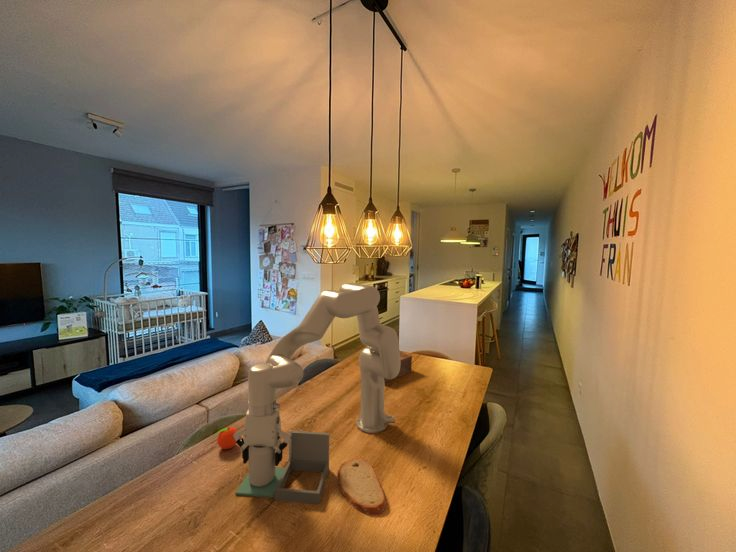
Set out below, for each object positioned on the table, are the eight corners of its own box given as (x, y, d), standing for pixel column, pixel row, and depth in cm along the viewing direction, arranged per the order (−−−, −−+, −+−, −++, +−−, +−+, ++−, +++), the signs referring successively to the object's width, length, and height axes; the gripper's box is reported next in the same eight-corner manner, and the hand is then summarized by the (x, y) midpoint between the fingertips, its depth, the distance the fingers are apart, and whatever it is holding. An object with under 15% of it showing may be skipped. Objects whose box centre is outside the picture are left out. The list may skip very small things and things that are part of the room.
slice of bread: (383, 520, 79) (383, 506, 79) (321, 500, 85) (321, 488, 85) (398, 473, 96) (398, 462, 96) (346, 460, 102) (346, 449, 102)
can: (280, 473, 94) (280, 436, 93) (264, 491, 87) (264, 452, 86) (259, 467, 96) (259, 431, 95) (243, 484, 89) (243, 446, 88)
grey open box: (328, 468, 97) (329, 430, 96) (319, 503, 84) (319, 459, 83) (290, 465, 98) (290, 427, 97) (274, 500, 84) (274, 455, 83)
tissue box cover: (393, 365, 188) (393, 349, 188) (411, 372, 178) (411, 356, 177) (362, 376, 171) (362, 358, 170) (380, 384, 160) (380, 366, 160)
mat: (286, 469, 96) (286, 468, 96) (273, 497, 85) (273, 495, 85) (253, 467, 97) (253, 465, 97) (235, 494, 86) (235, 492, 86)
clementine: (213, 456, 102) (212, 436, 101) (214, 444, 108) (214, 425, 107) (239, 450, 105) (238, 431, 104) (238, 439, 111) (238, 420, 111)
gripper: (294, 402, 92) (294, 455, 94) (240, 398, 94) (240, 451, 95) (286, 415, 85) (286, 472, 86) (227, 411, 86) (227, 468, 88)
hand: (262, 461), depth 91 cm, fingers open, 9 cm apart
